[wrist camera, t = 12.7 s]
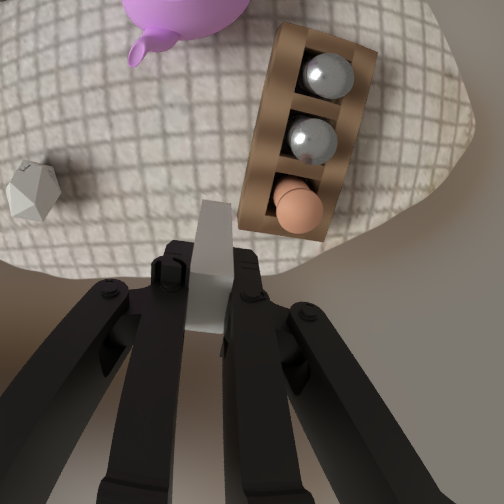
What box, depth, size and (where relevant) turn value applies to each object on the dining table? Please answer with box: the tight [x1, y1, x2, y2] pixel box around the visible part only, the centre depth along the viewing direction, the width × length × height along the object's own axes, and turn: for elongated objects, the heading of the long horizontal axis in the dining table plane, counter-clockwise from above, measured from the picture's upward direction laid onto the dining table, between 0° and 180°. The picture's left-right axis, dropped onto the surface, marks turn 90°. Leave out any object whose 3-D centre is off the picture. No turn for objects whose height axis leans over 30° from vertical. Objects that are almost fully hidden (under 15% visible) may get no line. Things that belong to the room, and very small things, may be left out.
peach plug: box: [272, 175, 323, 234], centre depth 38 cm, size 5×5×7 cm
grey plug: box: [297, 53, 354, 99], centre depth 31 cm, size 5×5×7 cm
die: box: [6, 160, 61, 222], centre depth 36 cm, size 8×9×10 cm
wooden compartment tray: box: [237, 22, 378, 242], centre depth 37 cm, size 27×12×5 cm, turn 169°
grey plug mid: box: [284, 115, 338, 165], centre depth 35 cm, size 5×5×7 cm
